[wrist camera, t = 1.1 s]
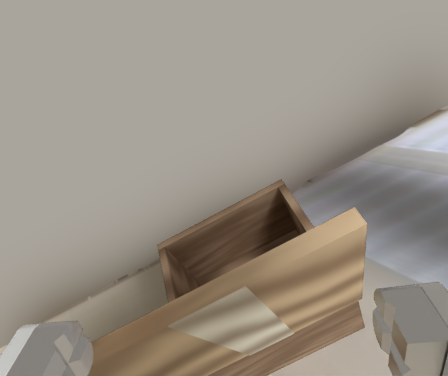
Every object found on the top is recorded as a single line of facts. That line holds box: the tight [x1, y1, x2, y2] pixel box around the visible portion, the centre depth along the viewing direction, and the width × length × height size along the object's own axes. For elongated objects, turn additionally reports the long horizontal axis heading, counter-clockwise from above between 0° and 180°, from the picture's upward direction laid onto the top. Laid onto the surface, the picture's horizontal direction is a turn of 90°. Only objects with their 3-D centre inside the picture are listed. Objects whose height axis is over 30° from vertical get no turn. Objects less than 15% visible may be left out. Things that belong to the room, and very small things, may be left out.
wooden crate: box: [158, 180, 365, 376], centre depth 45 cm, size 18×20×12 cm
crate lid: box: [87, 207, 367, 376], centre depth 26 cm, size 18×20×1 cm
